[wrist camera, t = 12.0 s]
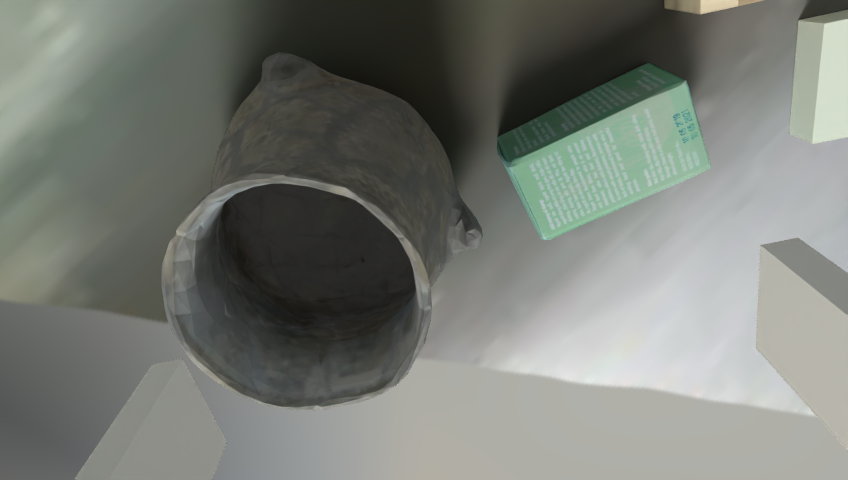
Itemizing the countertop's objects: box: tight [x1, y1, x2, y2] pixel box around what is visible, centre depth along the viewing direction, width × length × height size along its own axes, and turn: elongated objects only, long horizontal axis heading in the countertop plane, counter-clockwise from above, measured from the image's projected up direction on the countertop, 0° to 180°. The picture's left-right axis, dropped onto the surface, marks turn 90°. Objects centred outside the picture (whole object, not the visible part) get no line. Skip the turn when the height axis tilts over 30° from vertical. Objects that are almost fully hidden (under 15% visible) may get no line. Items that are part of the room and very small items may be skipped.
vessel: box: [161, 52, 483, 410], centre depth 38 cm, size 22×22×20 cm
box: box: [497, 62, 711, 240], centre depth 43 cm, size 7×14×8 cm, turn 118°
